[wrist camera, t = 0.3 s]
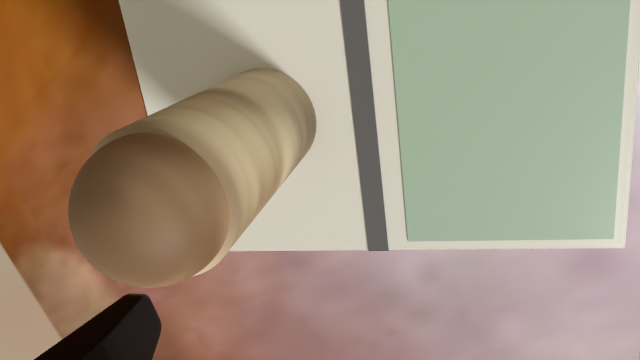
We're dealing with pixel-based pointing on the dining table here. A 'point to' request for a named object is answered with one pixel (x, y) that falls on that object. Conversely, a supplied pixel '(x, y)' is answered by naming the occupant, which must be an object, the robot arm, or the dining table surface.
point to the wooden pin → (189, 178)
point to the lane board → (424, 114)
